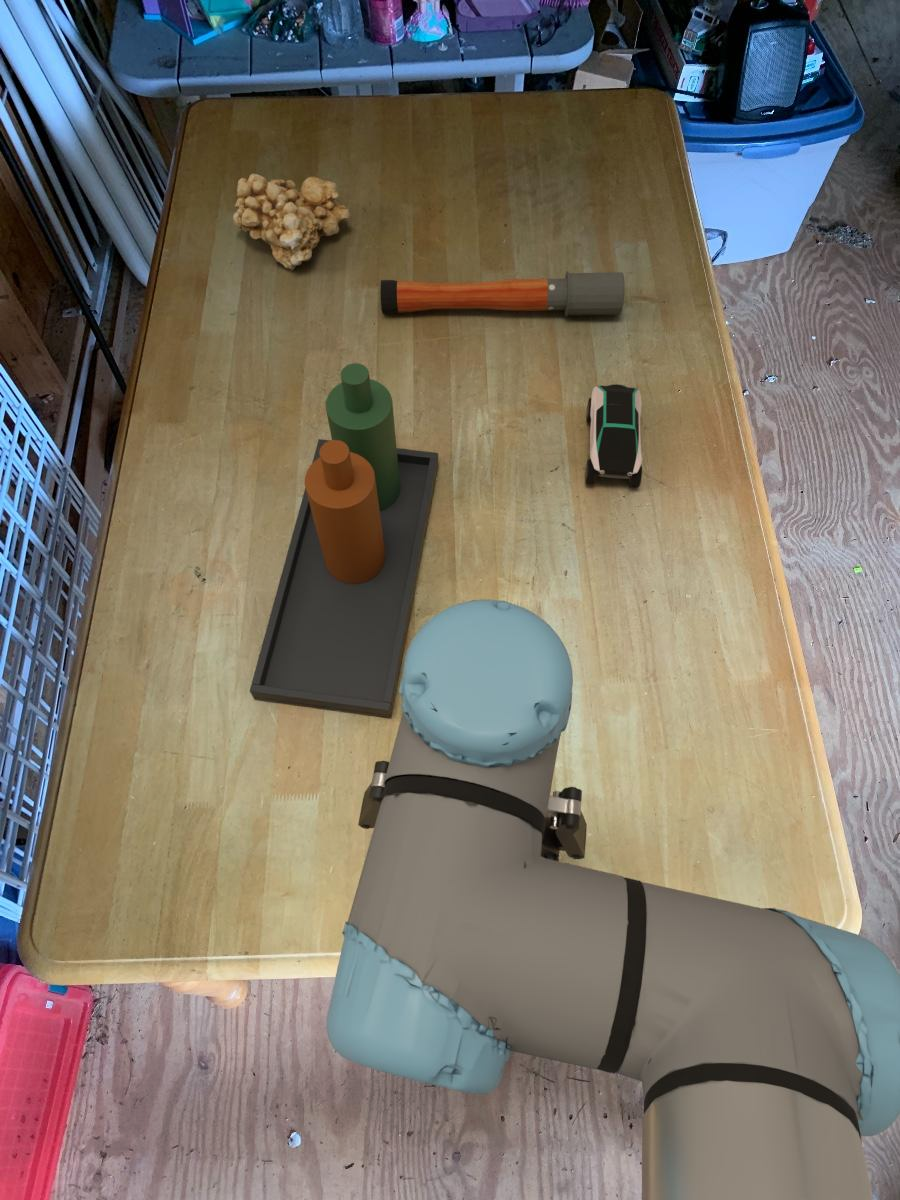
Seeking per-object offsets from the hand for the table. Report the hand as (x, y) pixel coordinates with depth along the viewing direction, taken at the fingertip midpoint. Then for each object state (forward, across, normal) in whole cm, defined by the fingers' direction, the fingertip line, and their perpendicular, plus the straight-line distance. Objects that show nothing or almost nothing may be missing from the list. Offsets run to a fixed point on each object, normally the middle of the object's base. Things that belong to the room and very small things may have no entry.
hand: (470, 846), depth 68 cm
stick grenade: (+7, +5, -68) cm, 69 cm away
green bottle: (+6, +16, -38) cm, 42 cm away
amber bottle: (+6, +16, -29) cm, 34 cm away
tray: (+7, +16, -28) cm, 32 cm away
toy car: (+7, -10, -48) cm, 50 cm away
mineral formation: (+7, +35, -78) cm, 86 cm away
